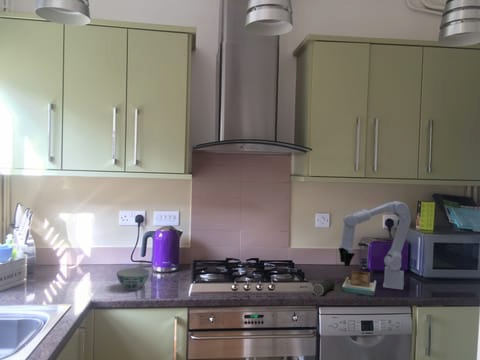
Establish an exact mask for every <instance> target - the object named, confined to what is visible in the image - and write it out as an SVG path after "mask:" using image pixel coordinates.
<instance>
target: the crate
mask: <svg viewBox="0 0 480 360" xmlns="http://www.w3.org/2000/svg"><path fill="white" fill-rule="evenodd" d="M350 280H351V285H358V286H365V287H369V285H370V283H371V272H365V271H360V270H359V271H357V270H352V271H351V273H350Z"/></svg>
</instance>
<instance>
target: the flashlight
mask: <svg viewBox="0 0 480 360" xmlns="http://www.w3.org/2000/svg"><path fill="white" fill-rule="evenodd" d="M335 286H336V282H335V280H334V279H333V278H326V279H325V280H324V281H320V282H318V283H315V284H314V285H313V287H312V292H313V294H314V295H316V296H319V297H320V296H322V295H324V294H325V293H326V292H328V291H329V290H332V289H334V288H335Z"/></svg>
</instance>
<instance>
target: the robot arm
mask: <svg viewBox="0 0 480 360" xmlns="http://www.w3.org/2000/svg"><path fill="white" fill-rule="evenodd" d="M386 212H388V213H393V214H394V215H395V216H396V217H397V219H398V220H399V222H398V225H397V228H396V231H395V234H394V238H393V241H392V244H391V247H390V249H389V251H388V252H387V254H386V255H385V256H384V259H383V263H384V265H385V267H384V275H383V277H384V280H383V284H382V287H383V288H388V289H395V290H402V291H403V290H404V286H405V282H404V278H405V277H404V274H405V271H404V270H401V267H402V258H403V257H402V250H403V248H404V245H405V242H406V239H407V236H408V232H409V229H410V227H411V222H412V217H411V212H410V208H409V206H408V205H407V204H406V203H405V202H403V201H402V202H401V201H398V200H394V201H392V202H391V201H389V202H386V203H384V204H381V205H379V206H377V207H374V208H371V209H370V210H368V209H365V208H364V209H363V208H362V209H360V211H357V212H352V213H351V214H348V215H345V216H344V218H343V220H342V221H343V223H344V224H343V230H342V237H341V238H342V239H341V244H339V245H338V252H339V258H340V262H341V263H344V266H345V267H349V266H350V265H351V262H352V259H353V258H354V256H355V255H356V254H355V252H353V251H354V239H355V230H356V226H357V225H358V224H361V223H364V222H367V221H370V220H371V218H372V217H373V216H376V215H377V216H378V215H380V214H383V213H386Z"/></svg>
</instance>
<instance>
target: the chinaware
mask: <svg viewBox="0 0 480 360" xmlns="http://www.w3.org/2000/svg"><path fill="white" fill-rule="evenodd" d="M116 275H117V276H116V277H117V279H118V282H119V283H120V284H121V285H122V287H124V288H125V290H128V291H137V290H140V288H141V287H142V286H143V285H144V284H145V283H146V282H147V281H148V279H149V276H150V270H149V269H147V268H142V267H129V268H123V269H119V270H117V272H116Z"/></svg>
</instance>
